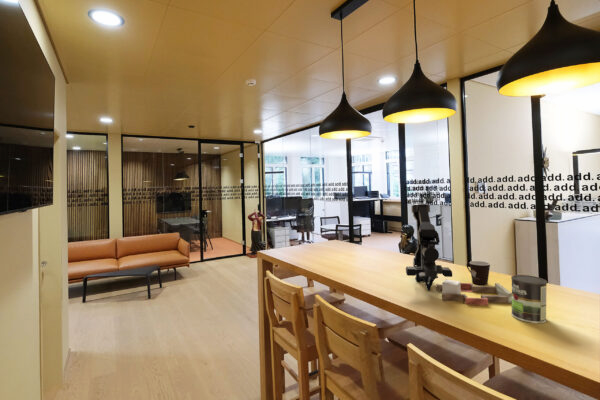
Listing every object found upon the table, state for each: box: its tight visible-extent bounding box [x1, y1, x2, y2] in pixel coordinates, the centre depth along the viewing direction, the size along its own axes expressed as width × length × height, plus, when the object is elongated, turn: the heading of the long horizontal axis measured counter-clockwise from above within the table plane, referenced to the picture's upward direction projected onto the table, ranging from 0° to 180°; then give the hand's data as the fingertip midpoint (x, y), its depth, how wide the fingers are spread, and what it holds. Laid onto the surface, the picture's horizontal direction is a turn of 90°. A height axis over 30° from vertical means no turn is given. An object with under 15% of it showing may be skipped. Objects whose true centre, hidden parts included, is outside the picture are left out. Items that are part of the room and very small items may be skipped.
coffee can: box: [510, 274, 548, 324], centre depth 110 cm, size 10×10×14 cm
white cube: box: [441, 278, 462, 294], centre depth 135 cm, size 6×6×6 cm
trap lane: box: [435, 282, 512, 306], centre depth 133 cm, size 26×20×4 cm
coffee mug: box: [466, 260, 491, 286], centre depth 150 cm, size 12×9×10 cm
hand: (428, 290), depth 137 cm, fingers closed
